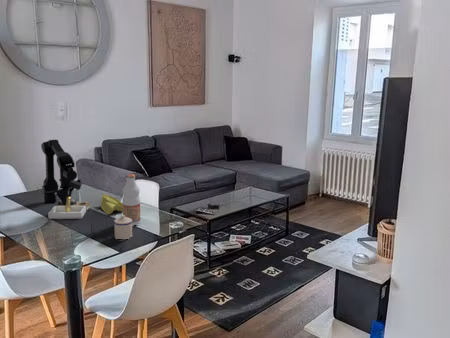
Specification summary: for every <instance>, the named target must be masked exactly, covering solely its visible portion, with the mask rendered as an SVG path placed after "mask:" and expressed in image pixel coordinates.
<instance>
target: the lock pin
mask: <svg viewBox="0 0 450 338" xmlns="http://www.w3.org/2000/svg"><path fill="white" fill-rule="evenodd" d="M71 199H72V196H71V197H70V196H67V202H66V206H65V212H71V208H70V200H71Z"/></svg>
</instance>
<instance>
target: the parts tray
mask: <svg viewBox="0 0 450 338" xmlns="http://www.w3.org/2000/svg"><path fill="white" fill-rule="evenodd" d="M70 208H71V212H65V206H56V205H54V206H53V207H52V209H51V210H49V211H48V212H47V213H48V214H47V215H48V220H74V219H75V220H76V219H77V220H78V219H79V220H80V219H83V217H84V216H85V215H86V213H87V211H86V206H70Z"/></svg>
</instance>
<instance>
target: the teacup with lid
mask: <svg viewBox="0 0 450 338" xmlns="http://www.w3.org/2000/svg"><path fill="white" fill-rule="evenodd" d="M113 224H114V225H113V226H114V238H115V240H117V239H128V240H130V239H131V238H130V237H132V238H133V226H132V219H131V218H127V217H125V215H123V214H122V215H121V216H120V217H118V218H116V219H114V220H113ZM129 238H130V239H129Z"/></svg>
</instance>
